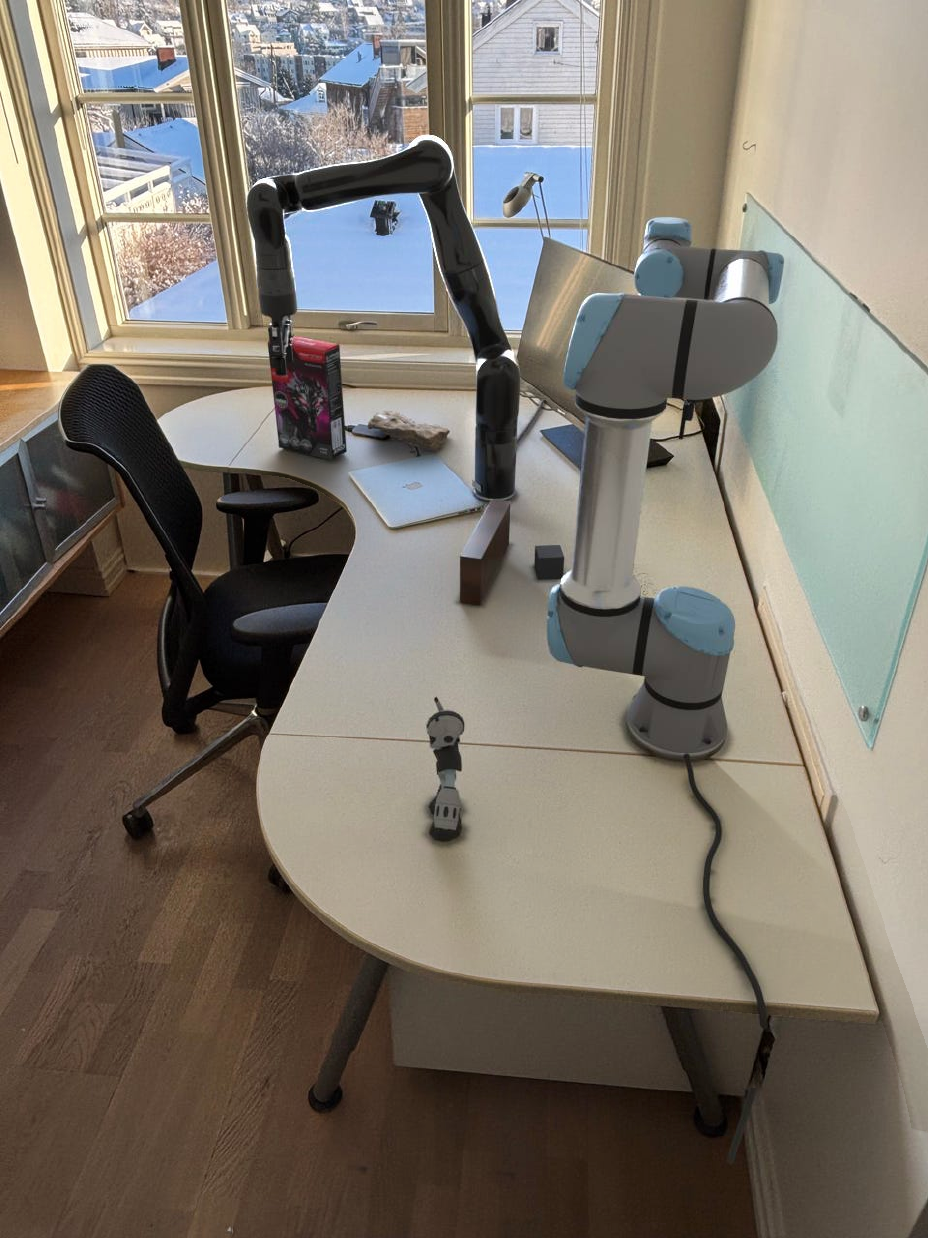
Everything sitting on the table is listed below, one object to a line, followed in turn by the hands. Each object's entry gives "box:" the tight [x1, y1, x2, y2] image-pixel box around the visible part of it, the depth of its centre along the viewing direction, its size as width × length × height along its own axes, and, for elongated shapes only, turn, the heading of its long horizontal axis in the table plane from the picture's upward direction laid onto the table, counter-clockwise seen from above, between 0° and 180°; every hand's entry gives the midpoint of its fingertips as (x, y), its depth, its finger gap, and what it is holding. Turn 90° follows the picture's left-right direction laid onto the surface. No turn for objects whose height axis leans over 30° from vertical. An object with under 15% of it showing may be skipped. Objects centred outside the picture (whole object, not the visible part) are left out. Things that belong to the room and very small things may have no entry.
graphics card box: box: [267, 335, 348, 461], centre depth 223 cm, size 17×7×27 cm, turn 62°
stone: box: [367, 410, 451, 451], centre depth 235 cm, size 21×15×6 cm
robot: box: [425, 696, 465, 842], centre depth 121 cm, size 20×5×20 cm, turn 3°
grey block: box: [533, 544, 565, 581], centre depth 181 cm, size 5×5×5 cm
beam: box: [459, 499, 512, 606], centre depth 180 cm, size 24×4×10 cm, turn 165°
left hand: (284, 368), depth 194 cm, fingers open, 8 cm apart
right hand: (643, 432), depth 170 cm, fingers open, 13 cm apart
